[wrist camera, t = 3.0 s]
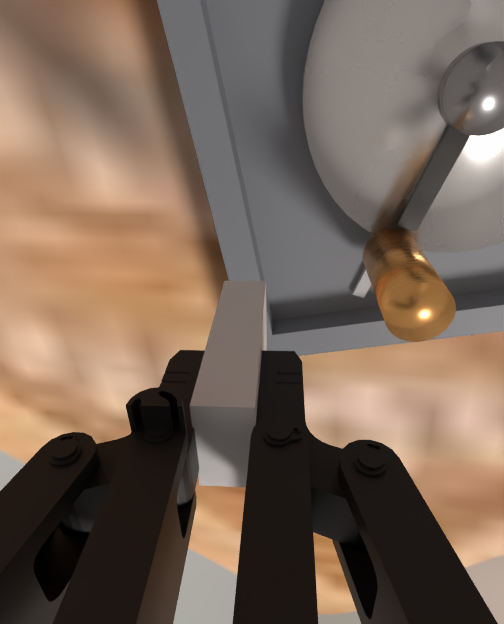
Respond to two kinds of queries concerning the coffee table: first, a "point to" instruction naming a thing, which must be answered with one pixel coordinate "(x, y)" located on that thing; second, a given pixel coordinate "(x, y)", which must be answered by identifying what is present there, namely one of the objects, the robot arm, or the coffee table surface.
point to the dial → (410, 139)
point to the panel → (291, 183)
